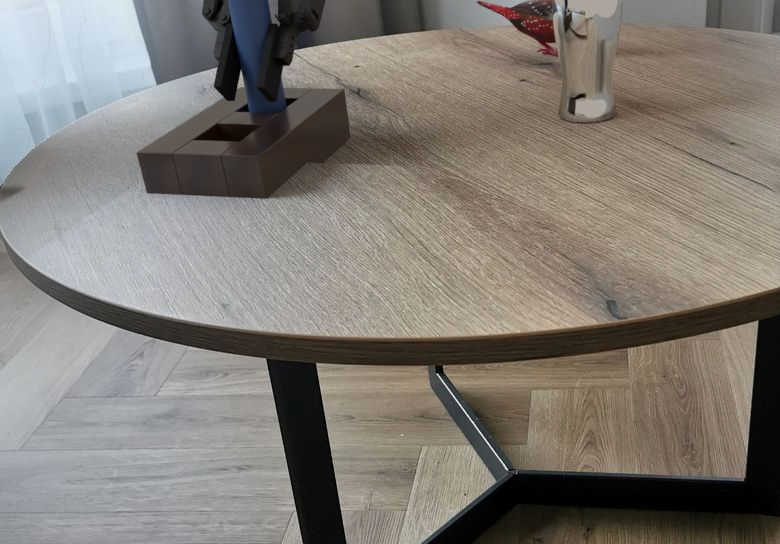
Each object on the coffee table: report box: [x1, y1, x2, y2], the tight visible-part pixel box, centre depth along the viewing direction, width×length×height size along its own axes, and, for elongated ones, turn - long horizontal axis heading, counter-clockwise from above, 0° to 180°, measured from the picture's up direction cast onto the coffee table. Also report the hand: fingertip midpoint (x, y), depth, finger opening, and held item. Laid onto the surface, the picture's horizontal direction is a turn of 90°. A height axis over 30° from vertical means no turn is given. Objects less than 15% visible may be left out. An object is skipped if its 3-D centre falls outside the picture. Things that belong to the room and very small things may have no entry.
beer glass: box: [552, 0, 623, 124], centre depth 98 cm, size 7×7×15 cm
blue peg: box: [228, 0, 287, 113], centre depth 90 cm, size 4×4×12 cm
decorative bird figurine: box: [476, 0, 558, 57], centre depth 121 cm, size 3×18×10 cm, turn 63°
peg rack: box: [136, 86, 352, 200], centre depth 91 cm, size 12×20×5 cm, turn 167°
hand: (245, 93), depth 89 cm, fingers closed on blue peg, 4 cm apart
